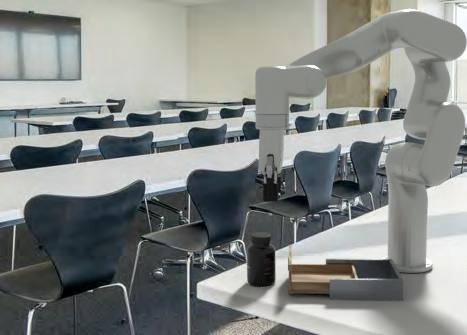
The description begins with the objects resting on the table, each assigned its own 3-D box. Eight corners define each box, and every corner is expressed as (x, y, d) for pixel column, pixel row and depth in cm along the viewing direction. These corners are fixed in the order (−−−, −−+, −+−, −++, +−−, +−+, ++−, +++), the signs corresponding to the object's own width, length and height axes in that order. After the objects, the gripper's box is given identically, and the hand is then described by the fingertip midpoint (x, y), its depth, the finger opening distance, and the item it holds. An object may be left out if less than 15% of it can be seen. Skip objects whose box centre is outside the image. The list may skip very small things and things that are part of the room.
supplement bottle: (241, 283, 139) (240, 235, 138) (259, 276, 144) (259, 229, 142) (263, 290, 135) (262, 239, 133) (281, 282, 140) (281, 233, 138)
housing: (325, 276, 143) (325, 258, 142) (391, 277, 141) (392, 258, 141) (329, 299, 128) (329, 279, 127) (403, 300, 126) (403, 280, 126)
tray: (288, 272, 144) (288, 245, 143) (352, 273, 142) (352, 245, 141) (288, 294, 129) (287, 264, 128) (359, 296, 127) (360, 265, 126)
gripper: (259, 119, 140) (259, 189, 142) (251, 125, 123) (251, 204, 125) (290, 119, 139) (290, 190, 141) (286, 125, 122) (286, 205, 124)
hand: (272, 197), depth 133 cm, fingers open, 9 cm apart
